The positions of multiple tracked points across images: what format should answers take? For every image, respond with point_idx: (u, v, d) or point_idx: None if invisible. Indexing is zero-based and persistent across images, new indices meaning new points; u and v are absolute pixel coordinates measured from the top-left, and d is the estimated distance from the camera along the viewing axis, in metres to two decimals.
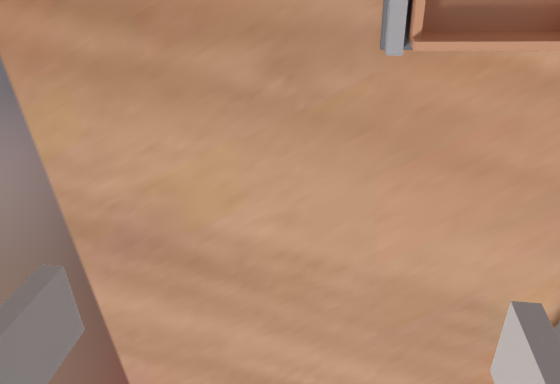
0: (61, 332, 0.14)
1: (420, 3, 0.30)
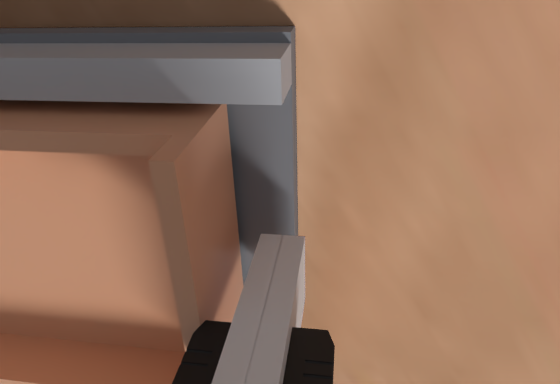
0: None
1: None
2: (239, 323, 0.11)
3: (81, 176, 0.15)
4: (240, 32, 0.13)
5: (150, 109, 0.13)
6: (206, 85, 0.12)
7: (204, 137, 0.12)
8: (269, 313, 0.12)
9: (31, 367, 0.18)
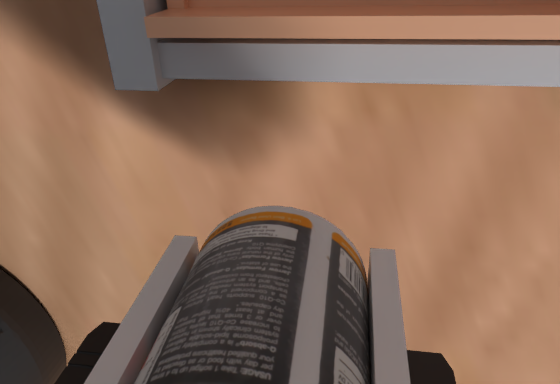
0: None
1: None
2: (127, 325, 0.11)
3: None
4: None
5: None
6: None
7: None
8: (381, 336, 0.11)
9: (371, 12, 0.13)
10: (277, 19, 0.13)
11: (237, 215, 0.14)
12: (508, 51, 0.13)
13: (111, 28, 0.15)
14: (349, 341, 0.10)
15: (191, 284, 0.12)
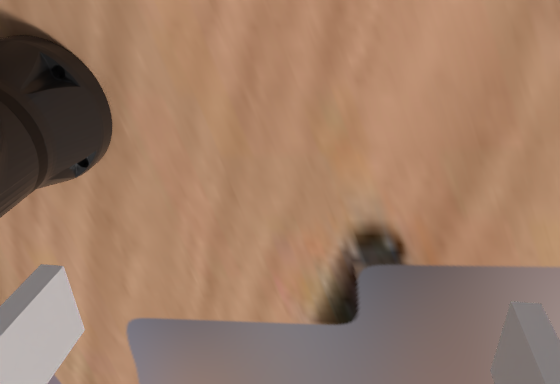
0: (61, 332, 0.14)
1: None
2: None
3: None
4: None
5: None
6: None
7: None
8: None
9: None
10: None
11: None
12: None
13: None
14: None
15: None
